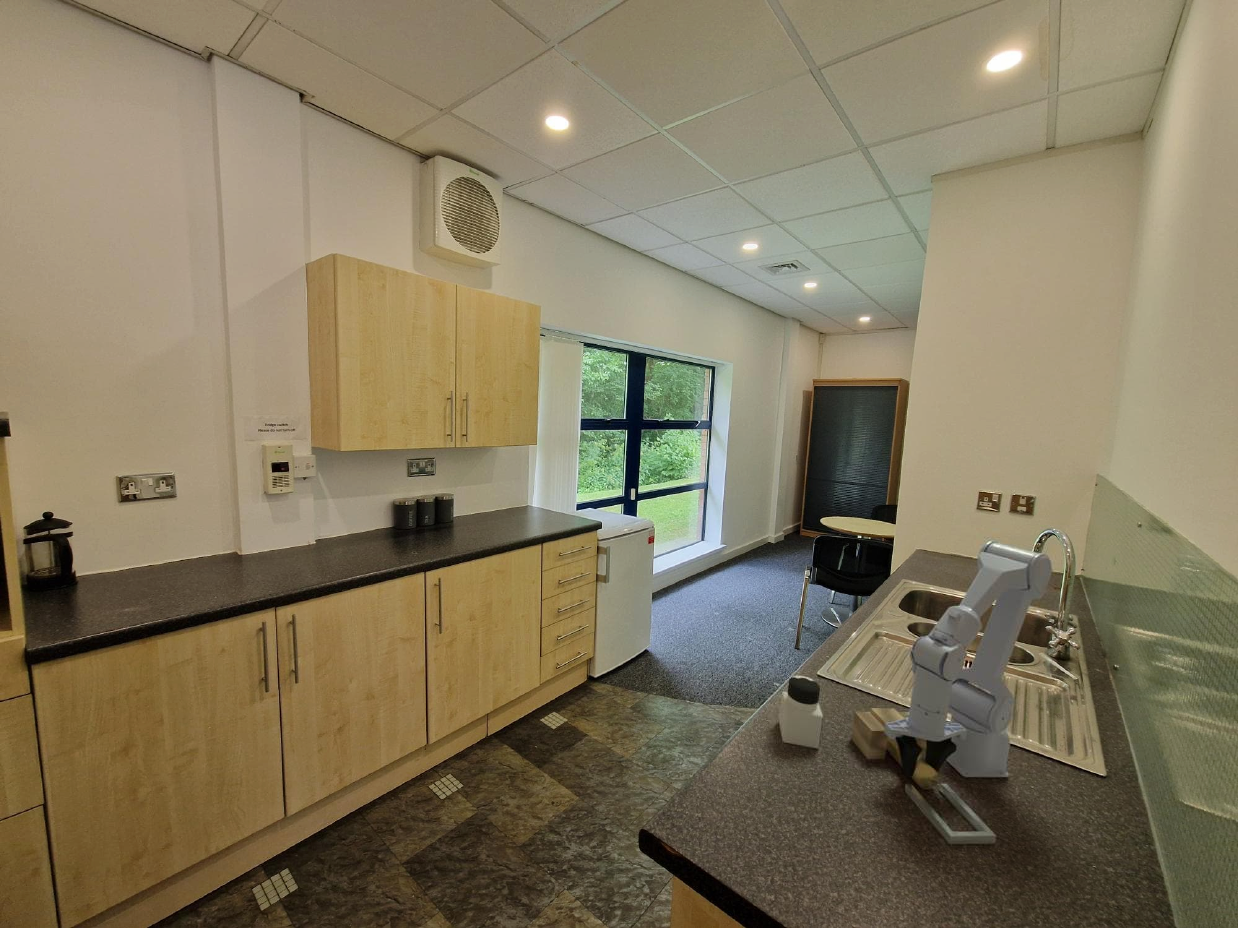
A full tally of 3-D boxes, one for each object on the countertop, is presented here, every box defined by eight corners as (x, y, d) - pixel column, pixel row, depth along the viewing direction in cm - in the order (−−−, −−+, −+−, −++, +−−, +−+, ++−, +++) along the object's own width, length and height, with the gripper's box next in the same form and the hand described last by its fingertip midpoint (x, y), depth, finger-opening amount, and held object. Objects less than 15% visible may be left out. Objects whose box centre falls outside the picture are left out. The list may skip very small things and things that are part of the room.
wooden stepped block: (905, 738, 104) (909, 708, 103) (925, 758, 98) (930, 727, 97) (851, 738, 102) (855, 707, 102) (867, 758, 97) (872, 726, 96)
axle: (882, 750, 98) (884, 732, 98) (901, 750, 99) (903, 732, 98) (916, 789, 89) (919, 769, 88) (937, 789, 89) (940, 768, 88)
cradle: (945, 790, 90) (946, 783, 89) (994, 843, 79) (996, 835, 79) (904, 790, 89) (905, 783, 89) (949, 843, 78) (950, 836, 78)
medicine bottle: (819, 749, 98) (826, 693, 97) (782, 742, 100) (788, 687, 98) (813, 727, 105) (819, 674, 104) (778, 721, 107) (784, 669, 105)
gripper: (950, 691, 94) (939, 756, 96) (878, 690, 93) (868, 756, 94) (980, 714, 87) (968, 784, 89) (902, 713, 86) (892, 784, 87)
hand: (918, 772), depth 91 cm, fingers closed on axle, 4 cm apart
